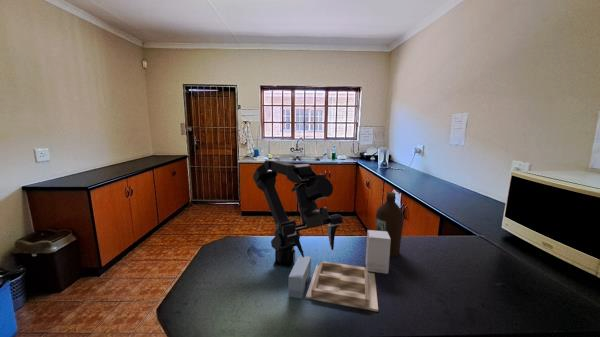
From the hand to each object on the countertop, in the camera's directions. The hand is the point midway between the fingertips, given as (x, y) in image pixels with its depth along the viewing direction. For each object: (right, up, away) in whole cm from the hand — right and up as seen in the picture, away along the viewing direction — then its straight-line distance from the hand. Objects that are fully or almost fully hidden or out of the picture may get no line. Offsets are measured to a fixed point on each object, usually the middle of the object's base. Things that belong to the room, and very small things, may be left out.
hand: (318, 253), depth 73 cm
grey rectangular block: (-5, -11, +2) cm, 12 cm away
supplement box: (+22, -10, +14) cm, 28 cm away
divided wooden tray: (+8, -11, +3) cm, 14 cm away
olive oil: (+30, -9, +26) cm, 41 cm away
